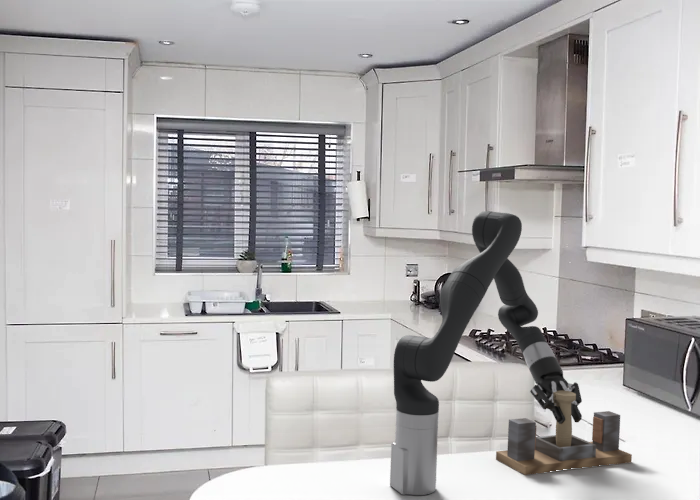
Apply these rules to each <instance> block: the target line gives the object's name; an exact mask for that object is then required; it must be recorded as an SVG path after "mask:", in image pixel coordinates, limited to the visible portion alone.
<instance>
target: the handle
mask: <svg viewBox="0 0 700 500" xmlns="http://www.w3.org/2000/svg"><path fill="white" fill-rule="evenodd" d="M554 398H555V400H557V401H558V407H560V409H561V411H562V413H563V415H564V417H565V421H564V422H563V423H562V424H559V423H558V422H557V421H556V420H555V435H556V445H557V446H559V447H568V446H571V440H572V435H573V425H572V423H573V422H572V419H573V417H572V415H571V402H573V401H575V400H576V394H575V393H573V392H570V391H564V390H560V391H557V392H554Z"/></svg>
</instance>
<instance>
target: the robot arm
mask: <svg viewBox="0 0 700 500" xmlns="http://www.w3.org/2000/svg"><path fill="white" fill-rule="evenodd" d="M522 226H523V224H522V220H521V219H520V217H519V216H517V215H516V214H512V213H508V212H500V211H491V210H490V211H488V210H485V211H484V210H483V211H479V212H478V213H477V214H476V215H475V216H474V219H473V221H472V227H471V234H472V238H473V241H474V244H475V246H476V248H477V249H478V251H479V253H478V254H476V255H475V256H473V257H471V258H469V259H467V260H465V261H464V262H462V263H461V264H459V265H458V266H457V267H456V268H454V269H453V271H452V272H451V273H450V274H449V276H448V278H447V279H446V281H445V283H444V284H443V286H442V287H441V290H440V294H439V304H440V305H439V306H440V311H441V317H442V321H441V324H440V326H439V328H438V330H437V332H436V333H435V334H434V335H433V336H432V337H425V336H419V335H413V334H412V335H410V334H408V335H404V336H402V337H401V338H400V339H399V340H398V341H397V343H396V346H395V349H394V354H393V395H394V400H395V406H396V409H395V411H396V412H395V431H394V432H395V433H394V434H395V436H394V437H395V438H394V442H391V446H390V473H389V474H390V475H389V476H390V477H389V486H390V487H392V489H394V490H395V491H397V492H398V493H400V494H401V495H412V496H424V495H430V494H432V493H434V492H435V491H436V490H437V489H436V488H437V465H438V464H437V463H438V461H437V460H438V439H439V436H438V435H439V411H440V402H439V401H440V400H439V398H438V397H437V396H436V395H435V394H433V393H432V392H430V391H429V390H428V389H427V388H426V387H425V386H424V384H423V383H422V381H424V382H429V383H431V382H438V381H439V380H441V378H443V376H444V375H445V373H447V370H448V369H449V366H450V364H451V362H452V360H453V357H454V356H455V352H456V350H457V348H458V345H459V343H460V341H461V338H462V336H463V334H464V332H465V330H466V329H467V327H468V324H469V323H470V321H471V319H472V317H473V316H474V314H475V312H476V311H477V309H478V308H479V307H480V304H481V302H482V300H483V299H484V298H485V295H486V293H487V292H488V289H489V287H490V285H491V284H492V282H493V280H494V282H495V286H496V289H497V293H498V296H499V299H500V301H501V303H502V304H504V305H502V306H500V307H499V309H498V312H497V316H498V320H499V322H500V324H501V325H502V326H503V327H504V328H505V329H506V331H507V332H508V333H509V334H510V335H511V336H512V337H513V338H514V339H515V341H516V342H517V345H518V346H519V349H520V351H521V353H522V355H523V358H524V361H525V364H526V365H527V368H528V370H529V372H530V374H531V376H532V378H533V381H534V382H535V385H534V386H533V387H532V388H531V389H530V390H529V393H530V394H531V395H532V396H533V397H534V399H535V400H536V401H537V403H538V404H539V405H540V406H541V408H542V409H543V410H549V411H550V412H551V413H552V415H553V418H554V420H555V422H556V421H557V422H558V423H559V424H562V423H563V422H564V421H565V417H564V415H563V413H562V411H561V409H560V407H558V401H557V400H555V398H554V392H557V391H560V390H564V391H570V392H573V393H575V394H576V400H575V401H573V402H571V417H572V419H573V422H574V423H579V422H580V421H582V418H583V416H582V412H581V411H580V409H579V407H578V406H579V405H580V404H581V403H582V402H583V401H582V400H583V399H582V396H581V391H580V385H579V384H578V383H577V381H575V382H573V383H570V382H569V381H568V380H566V379H565V377H564V372H563V369H562V368H561V364H560V363H559V361H558V359H557V358H556V355H555V353H554V351H553V349H552V348H551V347H550V345H549V343H548V342H547V339H546V338H545V336H544V334H543V332H542V330H541V328H539V327H538V326H533V325H532V326H531V325H530V326H529V325H528V324H531V323H533V322H535V321H536V320H537V318H538V315H539V309H538V307H537V305H536V303H534V301H533V300H532V299H531V297H530V295H529V294H528V293H527V291H526V288H525V283H524V280H523V277H522V274H521V272H520V270H519V269H518V268H517V267H516V265H515V264H514V263H513V262H512V261H511V260H510V259H509V257H510V255H512V252H513V251H514V249H515V248H516V246H517V245H518V243H519V240H520V237H521V235H522V230H523V229H522V228H523V227H522ZM526 325H528V326H526Z"/></svg>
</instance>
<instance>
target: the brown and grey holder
mask: <svg viewBox="0 0 700 500" xmlns="http://www.w3.org/2000/svg"><path fill="white" fill-rule="evenodd" d="M536 423H537V422H536V421H534V420H531V419H529V418H526V417H523V418H521V417H520V418H511V419H508V429H507V430H508V431H507V433H508V434H507V450H498V451H497V450H496V452H495V460H496V461H499V462H500V463H502V464H503V465H505V466H507V467H509V468H511V469H513V470H515V471H517V472H518V473H520V474H522V475H524V476H529V475H537V474H536V473H538V474H545V473H544V472H547V473H551V472H550V471H555V472H557V471H556V470H563V469H571V468H581V469H583V468H582V467H589V468H593V467H592V466H597V467H600V466H599V465H606V466H610V465H609V464H614V465H621V464H627V463H628V464H630V463H632V459H633V457H632V456H633V455H632V454H631V453H630V452H626V451H625V450H622V449H620V448H619V447H620V432H621V431H620V429H621V428H620V427H621V414H619V413H616V412H614V411H609V410H608V411H594V412H593V418H592V433H591V435H592V437H591V438H592V439H591V441H588V440H585V439H584V438H583V439H582V438H580V437H578V436H575V435H573V434H572V440H571V446H568V447H559V446H557V445H556V434H554V435H544V436H542V435H541V436H537V424H536Z"/></svg>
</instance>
